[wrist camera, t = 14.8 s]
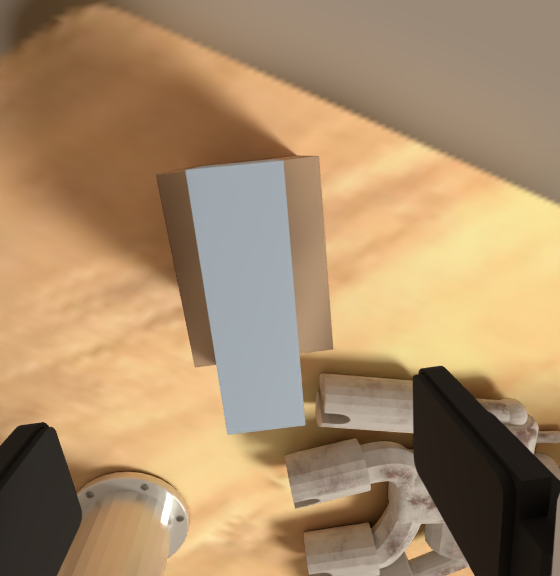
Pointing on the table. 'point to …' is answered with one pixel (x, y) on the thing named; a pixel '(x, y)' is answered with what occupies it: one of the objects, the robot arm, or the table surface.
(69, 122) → the table surface
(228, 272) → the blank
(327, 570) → the white branched piece
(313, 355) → the table surface
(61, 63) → the table surface
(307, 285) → the open wooden box
